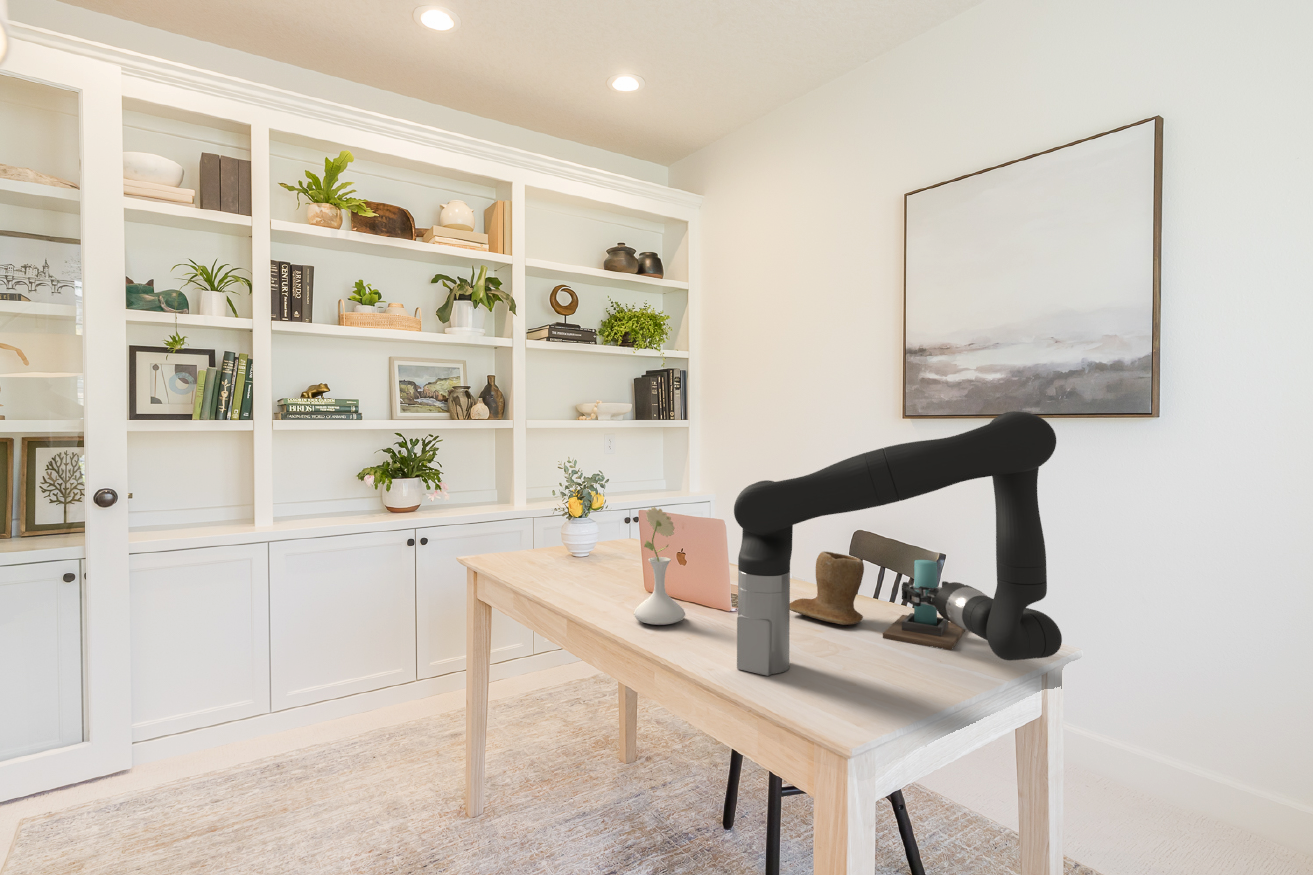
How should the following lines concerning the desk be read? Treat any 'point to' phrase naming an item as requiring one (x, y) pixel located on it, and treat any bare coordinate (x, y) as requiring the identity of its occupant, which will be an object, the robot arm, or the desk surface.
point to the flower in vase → (659, 578)
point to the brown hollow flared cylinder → (834, 590)
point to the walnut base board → (924, 632)
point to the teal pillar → (926, 576)
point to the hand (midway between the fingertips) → (923, 586)
